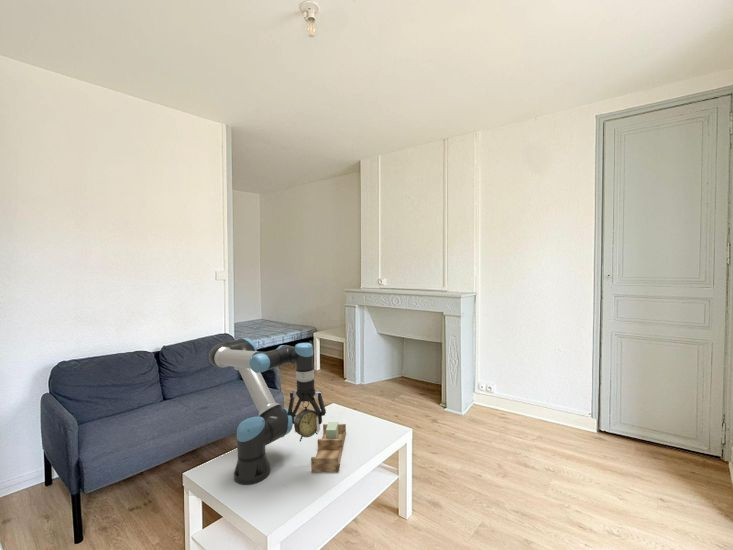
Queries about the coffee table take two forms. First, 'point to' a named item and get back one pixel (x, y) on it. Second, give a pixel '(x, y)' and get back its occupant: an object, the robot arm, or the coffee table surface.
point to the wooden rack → (329, 452)
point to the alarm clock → (306, 423)
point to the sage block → (332, 430)
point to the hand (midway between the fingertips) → (307, 430)
